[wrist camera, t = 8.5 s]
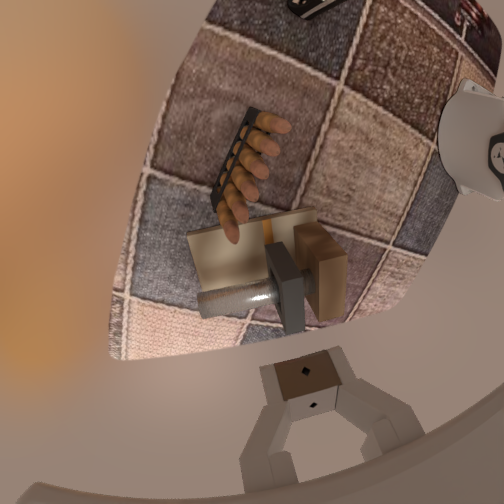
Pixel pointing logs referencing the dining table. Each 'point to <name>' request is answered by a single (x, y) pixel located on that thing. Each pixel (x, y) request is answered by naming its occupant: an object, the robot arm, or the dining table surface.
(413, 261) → the dining table surface
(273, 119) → the ammunition clip
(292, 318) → the collar
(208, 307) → the steel pipe
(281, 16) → the dining table surface
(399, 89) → the dining table surface
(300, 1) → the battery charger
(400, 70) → the dining table surface
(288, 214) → the pipe stand
